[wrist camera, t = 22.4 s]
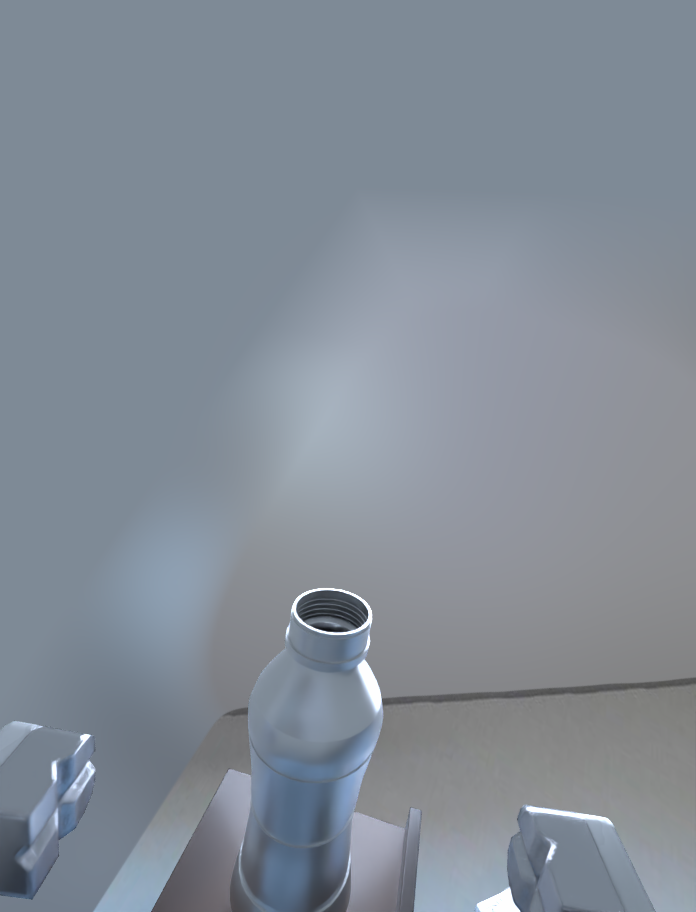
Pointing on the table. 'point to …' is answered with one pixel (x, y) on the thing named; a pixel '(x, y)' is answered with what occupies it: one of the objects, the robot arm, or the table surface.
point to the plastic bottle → (308, 759)
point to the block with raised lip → (222, 832)
